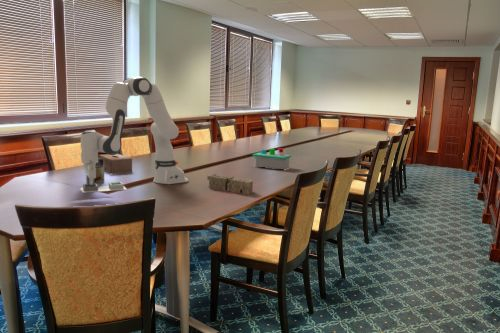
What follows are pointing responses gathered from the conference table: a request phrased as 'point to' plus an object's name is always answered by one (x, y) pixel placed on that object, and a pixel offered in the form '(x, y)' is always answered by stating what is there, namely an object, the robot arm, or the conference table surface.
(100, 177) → the coffee box
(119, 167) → the tissue box cover
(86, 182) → the plug
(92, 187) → the panel
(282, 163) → the control panel
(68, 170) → the conference table surface
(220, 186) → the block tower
